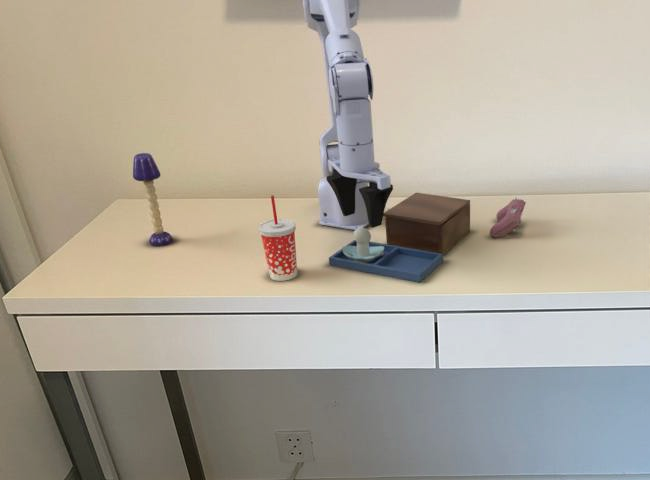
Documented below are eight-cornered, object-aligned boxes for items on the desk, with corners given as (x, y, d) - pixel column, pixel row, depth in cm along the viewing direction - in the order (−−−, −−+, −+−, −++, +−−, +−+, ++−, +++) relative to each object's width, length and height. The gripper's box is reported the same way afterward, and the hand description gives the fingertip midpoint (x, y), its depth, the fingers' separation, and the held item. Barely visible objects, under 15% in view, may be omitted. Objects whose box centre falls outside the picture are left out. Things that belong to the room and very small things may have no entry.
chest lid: (440, 225, 131) (439, 222, 130) (382, 216, 135) (382, 213, 135) (470, 203, 141) (470, 199, 141) (416, 195, 145) (415, 192, 145)
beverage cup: (284, 285, 125) (273, 204, 118) (257, 277, 128) (244, 198, 121) (309, 272, 130) (299, 193, 122) (282, 264, 132) (271, 187, 125)
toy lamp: (180, 240, 143) (161, 152, 134) (162, 249, 139) (142, 159, 131) (161, 236, 145) (141, 149, 136) (143, 245, 141) (121, 156, 132)
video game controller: (508, 247, 141) (526, 216, 137) (487, 235, 141) (504, 204, 137) (515, 228, 149) (532, 198, 146) (494, 216, 149) (511, 187, 145)
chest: (442, 256, 134) (441, 225, 131) (386, 246, 139) (384, 217, 136) (470, 231, 144) (470, 203, 141) (417, 223, 148) (416, 195, 145)
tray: (419, 282, 125) (419, 274, 124) (329, 265, 132) (328, 257, 131) (443, 261, 132) (443, 253, 132) (356, 246, 139) (355, 238, 138)
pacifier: (347, 252, 136) (341, 264, 131) (344, 218, 133) (338, 230, 128) (387, 252, 136) (383, 265, 131) (385, 219, 133) (381, 230, 128)
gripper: (403, 144, 120) (407, 224, 127) (348, 128, 130) (355, 204, 137) (368, 153, 116) (374, 236, 123) (314, 136, 125) (323, 214, 133)
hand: (362, 220), depth 130 cm, fingers open, 7 cm apart
